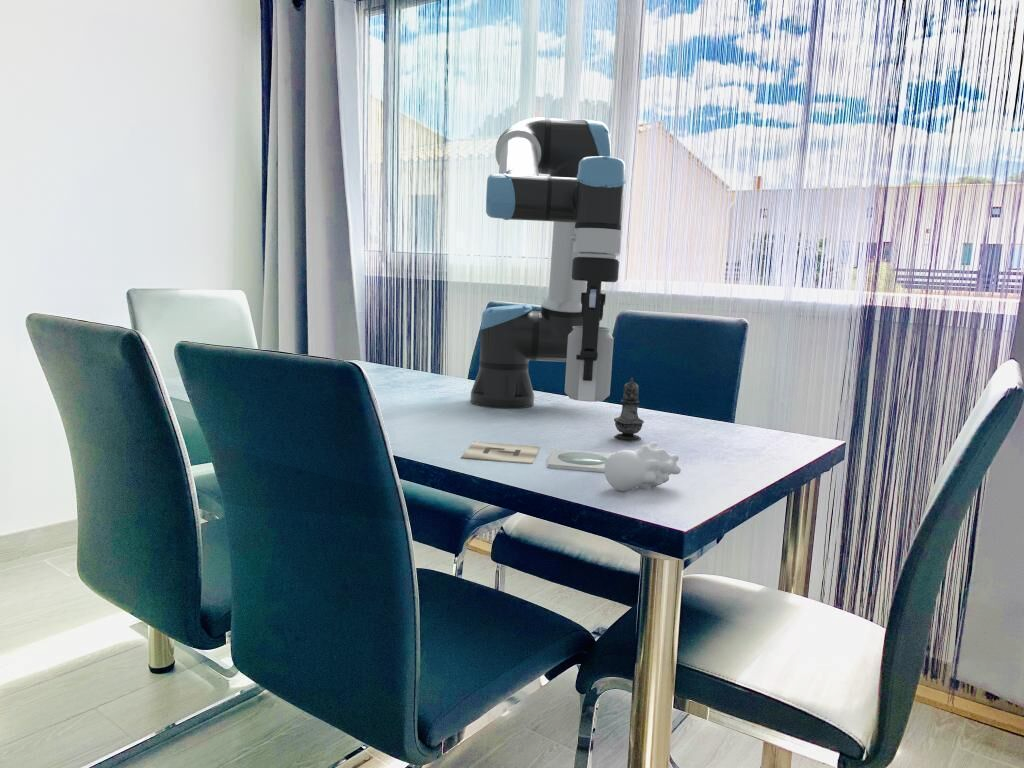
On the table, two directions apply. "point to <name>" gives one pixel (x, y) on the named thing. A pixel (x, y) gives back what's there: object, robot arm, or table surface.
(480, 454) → the tile
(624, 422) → the salt shaker
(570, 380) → the can
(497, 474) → the table surface
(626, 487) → the figurine
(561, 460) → the coaster
